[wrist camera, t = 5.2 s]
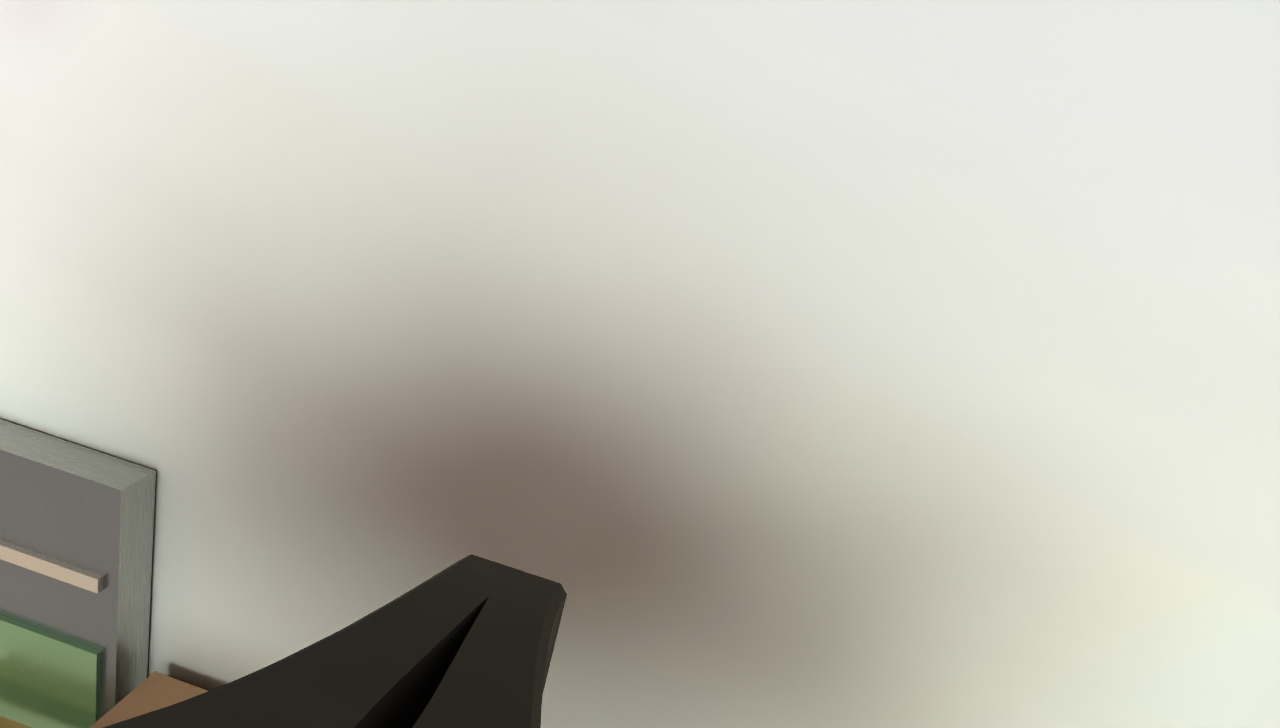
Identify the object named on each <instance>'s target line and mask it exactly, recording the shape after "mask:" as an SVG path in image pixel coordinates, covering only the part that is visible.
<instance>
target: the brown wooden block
mask: <svg viewBox="0 0 1280 728" xmlns="http://www.w3.org/2000/svg"><path fill="white" fill-rule="evenodd" d="M205 692H208V691H207V690H204V689H202V688H199V687H196V686H193V685H191V684H188V683H185V682H182V681H180V680H177V679H174V678H171V677H169V676H166V675H163V674H160V673H158V672H154V673H153V674H151V675H150V676H149V677H148V678H147V679H146V680H144V681H143V682H142V683H141V684H140V685H139V686H138V687H136V688H135V689H134V690H133V691H132V692H131V693H129V694H128V695H127V696H126V697H125V698H124V699H122V700H121V701H120V702H119V703H118V704H117V705H115V706H114V707H113V708H112V709H111V710H110V711H108V712H107V713H106V714H105V715H104V716H103V717H101V718H100V719H99V720H98V721H97V722H96V723H94V724H93V725H92V726H91V727H90V728H103V727H106V726H109V725H112V724H115V723H118V722H121V721H124V720H127V719H130V718H134V717H137V716H140V715H143V714H146V713H149V712H152V711H155V710H158V709H161V708H164V707H167V706H170V705H173V704H176V703H179V702H181V701H184V700H187V699H190V698H192V697H195V696H197V695H200V694H202V693H205ZM0 728H32V727H29V726H26V725H24V724H21V723H18V722H16V721H13V720H11V719H8V718H5V717H3V716H0Z"/></svg>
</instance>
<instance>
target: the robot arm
mask: <svg viewBox="0 0 1280 728" xmlns="http://www.w3.org/2000/svg"><path fill="white" fill-rule="evenodd" d="M566 595H567V594H566V592H565V591H564V589H563V587H562V585H561V584H560V583H557V582H554V581H551V580H548V579H545V578H542V577H539V576H536V575H532V574H529V573H526V572H523V571H520V570H517V569H514V568H511V567H508V566H505V565H502V564H499V563H496V562H493V561H490V560H487V559H484V558H481V557H478V556H475V555H470V556H468V557H465V558H463V559H462V560H460V561H458V562H456V563H455V564H453V565H451V566H450V567H448V568H447V569H445V570H443V571H442V572H440V573H438V574H437V575H435V576H433V577H432V578H430V579H429V580H427V581H425V582H424V583H422V584H420V585H419V586H417V587H415V588H414V589H412V590H410V591H409V592H407V593H405V594H404V595H402V596H400V597H399V598H397V599H395V600H393V601H392V602H390V603H388V604H386V605H385V606H383V607H381V608H379V609H378V610H376V611H374V612H372V613H370V614H369V615H367V616H365V617H363V618H361V619H360V620H358V621H356V622H354V623H353V624H351V625H349V626H347V627H345V628H343V629H342V630H340V631H338V632H336V633H334V634H332V635H330V636H328V637H326V638H324V639H322V640H320V641H318V642H316V643H314V644H312V645H310V646H308V647H306V648H304V649H302V650H300V651H298V652H296V653H294V654H292V655H290V656H288V657H286V658H284V659H282V660H280V661H278V662H276V663H273V664H271V665H269V666H267V667H265V668H262V669H260V670H258V671H256V672H254V673H251V674H249V675H247V676H245V677H242V678H240V679H238V680H235V681H233V682H230V683H228V684H225V685H223V686H220V687H218V688H215V689H213V690H210V691H208V692H205V693H202V694H200V695H197V696H195V697H192V698H190V699H187V700H184V701H181V702H179V703H176V704H173V705H170V706H167V707H164V708H161V709H158V710H155V711H152V712H149V713H146V714H143V715H140V716H137V717H134V718H130V719H127V720H124V721H121V722H118V723H115V724H112V725H109V726H106V727H103V728H540V724H541V704H542V694H543V690H544V686H545V682H546V678H547V673H548V669H549V665H550V661H551V657H552V653H553V649H554V645H555V640H556V636H557V632H558V628H559V624H560V620H561V616H562V612H563V608H564V603H565V599H566Z"/></svg>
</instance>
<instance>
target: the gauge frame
mask: <svg viewBox="0 0 1280 728" xmlns="http://www.w3.org/2000/svg"><path fill="white" fill-rule="evenodd" d="M155 480H156V471H155V470H152V469H149V468H146V467H143V466H140V465H137V464H134V463H131V462H128V461H125V460H122V459H119V458H116V457H113V456H110V455H107V454H104V453H101V452H98V451H95V450H92V449H89V448H86V447H83V446H80V445H77V444H74V443H71V442H68V441H65V440H62V439H59V438H56V437H53V436H50V435H47V434H44V433H41V432H38V431H35V430H32V429H29V428H26V427H23V426H20V425H17V424H14V423H11V422H8V421H5V420H2V419H0V716H3V717H5V718H8V719H11V720H13V721H16V722H18V723H21V724H24V725H26V726H29V727H32V728H90V727H91V726H92V725H93V724H94V723H96V722H97V721H98V720H99V719H100V718H101V717H103V716H104V715H105V714H106V713H107V712H108V711H110V710H111V709H112V708H113V707H114V706H115V705H117V704H118V703H119V702H120V701H121V700H122V699H124V698H125V697H126V696H127V695H128V694H129V693H131V692H132V691H133V690H134V689H135V688H136V687H138V686H139V685H140V684H141V683H142V682H143V681H144V680H146V679H147V667H148V644H149V620H150V597H151V574H152V550H153V527H154V503H155Z"/></svg>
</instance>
